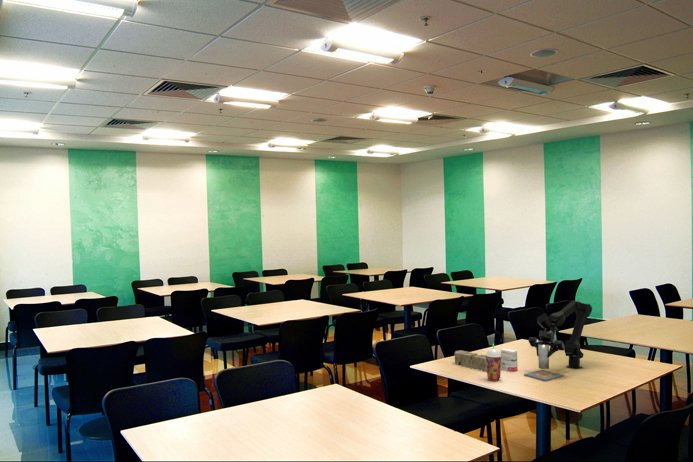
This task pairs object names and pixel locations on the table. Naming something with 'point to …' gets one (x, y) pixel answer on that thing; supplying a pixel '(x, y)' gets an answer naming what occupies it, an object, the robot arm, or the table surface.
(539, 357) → the steel sleeve
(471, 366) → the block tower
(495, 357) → the smoothie
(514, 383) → the table surface
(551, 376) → the rubber mat
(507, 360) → the ink box
